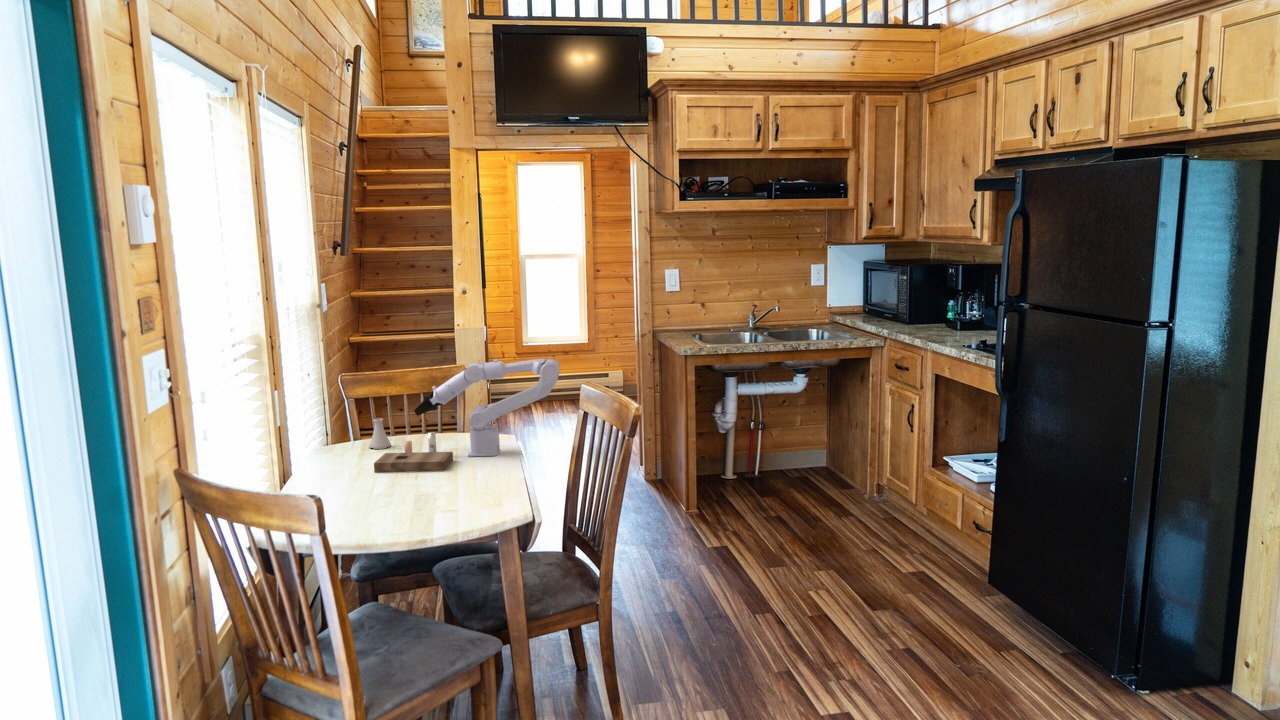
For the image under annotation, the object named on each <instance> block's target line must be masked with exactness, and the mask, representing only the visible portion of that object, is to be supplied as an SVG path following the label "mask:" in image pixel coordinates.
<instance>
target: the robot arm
mask: <svg viewBox="0 0 1280 720" xmlns="http://www.w3.org/2000/svg"><path fill="white" fill-rule="evenodd" d="M526 372H529V373H530V372H531V373H532V374H534V375H536V376H539V379H538V382H537V384H536V385H533V386H531V387H529V388H526V389H524V390H522V391H519V392H517V393H515V394H512V395H509V396H508V397H506V398H504V399H501V400H499V401H496V402H494V403H490V404H487V405H478V406H476V407H475V408H474V409H473V410H472V412H471V413H470V415H469V417H468V424H469V439H470V452H469V453H468V455H467V456H468V457H496V456H497V455H498V454H499V452H500V450H501V448H500V447H501V446H500V432H499V431H500V430H499V428H498V427H493V426H492V424H491V423H492V422H493V421H495V420H497V419H498V418H500V417H503V416H504V415H506V414H509V413H512V412H513V411H515V410H518V409H520V408H523V407H525V406H527V405H530V404H532V403H534V402H537V401H539V400H541V399H543V398H547V397H548V396H549V394H550V393H551V391H552V390H553V388H555V387H554V386H555V385H556V383H557V382H558V381H559V380H558V379H559V376H560V373H561V364H560V362H559V361H558V360H557V359H555V358H536V359H528V360H522V361H515V362H512V363H505V362H504V361H502V360H499V359H494V360H492V361H489V362H483V361H480V362H478V363H477V362H476V363H470V364H468V366H466V368H465V369H464V370H462V371H460V372H458V373H457V374H456V375H454V376H452V377H451V378H449V379H448V380H447V381H445V382H444V383H443V384H440V385H439V386H438V387H437V386H436V385H433V386H432V387H431V388H432V390H433V391H432V392H431V393H428V394H427V395H425V396H424V399H423V400H422V402H421V403H419V405H417V407H415V408H414V410H413V412H414V414H415V415H416V416H417V417H418V416H421V415H423V414H425V413H428V412H430V411H436V410H438V409H439V408H438V406H443V405H446V404H447V403H448V402H450V401H451V400H453V399H454V398H455V397H457V396H458V395H459V394H461V393H462V392H464V391H465V390H467V389H468V388H469V387H470V386H472V385H473V384H474V383H475V384H477V383H479V382H480V381H481V380H483V381H488V380H496V379H498V380H499V379H503V378H505V377H506V376H507V374H516V373H517V374H518V373H526Z"/></svg>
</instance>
